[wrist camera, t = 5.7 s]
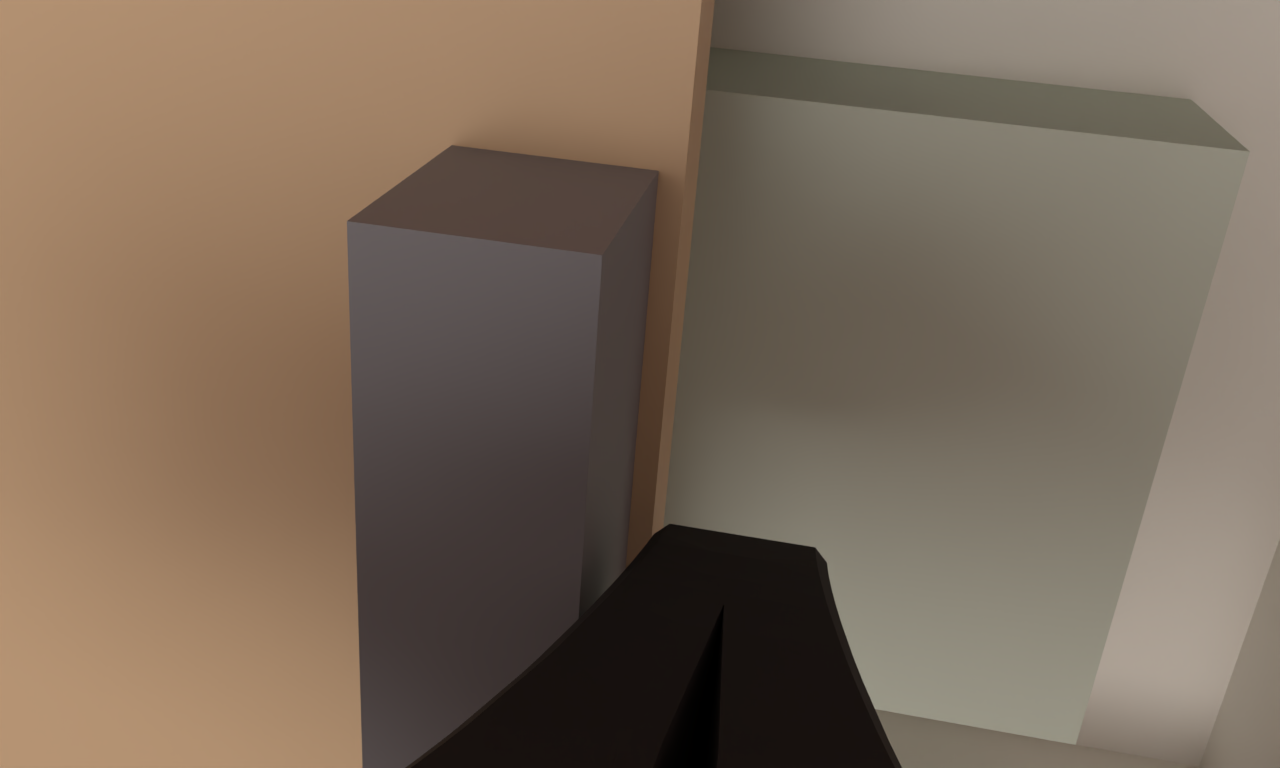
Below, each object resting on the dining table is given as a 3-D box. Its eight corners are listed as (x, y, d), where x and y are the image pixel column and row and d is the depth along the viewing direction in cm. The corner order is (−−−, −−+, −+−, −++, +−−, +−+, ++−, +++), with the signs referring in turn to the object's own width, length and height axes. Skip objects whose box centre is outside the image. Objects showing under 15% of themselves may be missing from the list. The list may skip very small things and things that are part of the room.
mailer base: (1551, -126, 12) (1927, -100, 8) (1221, 777, 17) (1337, 1104, 13) (257, -232, 14) (-34, -260, 10) (301, 612, 19) (124, 847, 15)
